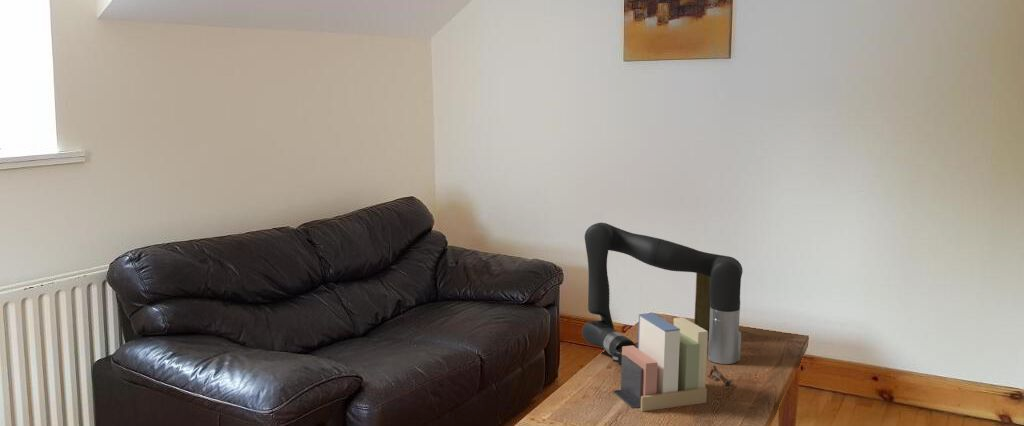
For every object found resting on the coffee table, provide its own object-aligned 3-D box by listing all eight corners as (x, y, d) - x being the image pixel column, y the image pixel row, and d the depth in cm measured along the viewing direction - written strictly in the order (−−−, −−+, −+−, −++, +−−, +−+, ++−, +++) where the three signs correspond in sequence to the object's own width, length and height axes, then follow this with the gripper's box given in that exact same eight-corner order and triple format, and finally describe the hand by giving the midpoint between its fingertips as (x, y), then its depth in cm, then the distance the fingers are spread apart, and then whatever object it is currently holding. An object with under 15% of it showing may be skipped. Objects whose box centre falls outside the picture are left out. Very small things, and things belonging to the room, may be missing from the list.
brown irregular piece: (708, 373, 261) (713, 362, 258) (726, 391, 255) (731, 380, 253) (704, 374, 260) (709, 363, 257) (721, 392, 254) (727, 381, 252)
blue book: (650, 384, 254) (653, 312, 250) (677, 404, 239) (680, 328, 235) (636, 385, 253) (638, 314, 249) (662, 406, 238) (665, 330, 234)
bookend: (623, 390, 249) (624, 354, 247) (642, 406, 237) (643, 368, 235) (613, 392, 248) (614, 355, 246) (631, 408, 236) (632, 370, 234)
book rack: (680, 381, 256) (682, 317, 253) (709, 402, 241) (712, 333, 237) (616, 389, 250) (618, 323, 246) (642, 411, 234) (644, 341, 231)
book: (694, 325, 310) (696, 258, 306) (709, 326, 309) (712, 259, 305) (694, 339, 294) (697, 269, 290) (710, 341, 293) (713, 270, 289)
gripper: (600, 337, 266) (624, 355, 250) (638, 333, 270) (665, 350, 254) (599, 360, 267) (623, 379, 251) (638, 356, 271) (664, 374, 255)
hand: (644, 365), depth 252 cm, fingers closed
